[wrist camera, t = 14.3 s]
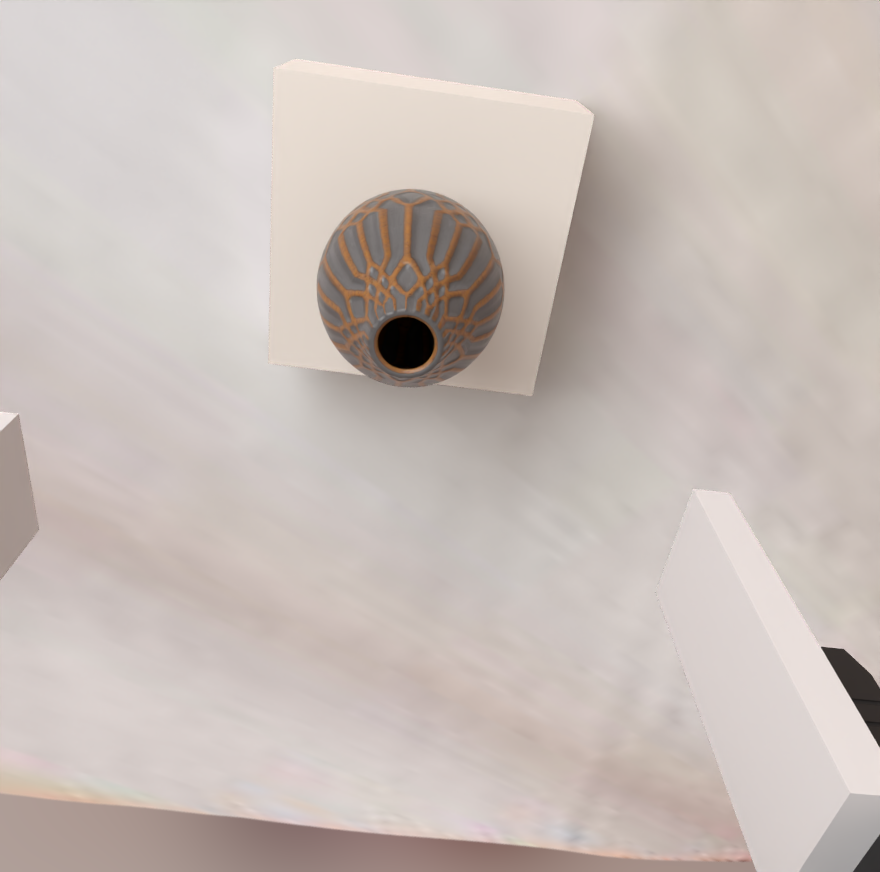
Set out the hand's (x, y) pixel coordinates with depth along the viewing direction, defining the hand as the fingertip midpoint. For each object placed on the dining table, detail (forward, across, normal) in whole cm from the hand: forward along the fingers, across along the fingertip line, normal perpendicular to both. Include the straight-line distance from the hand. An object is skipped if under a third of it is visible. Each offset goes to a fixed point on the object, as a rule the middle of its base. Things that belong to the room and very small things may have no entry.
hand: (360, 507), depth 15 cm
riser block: (+23, +1, 0) cm, 23 cm away
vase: (+18, 0, 0) cm, 18 cm away
